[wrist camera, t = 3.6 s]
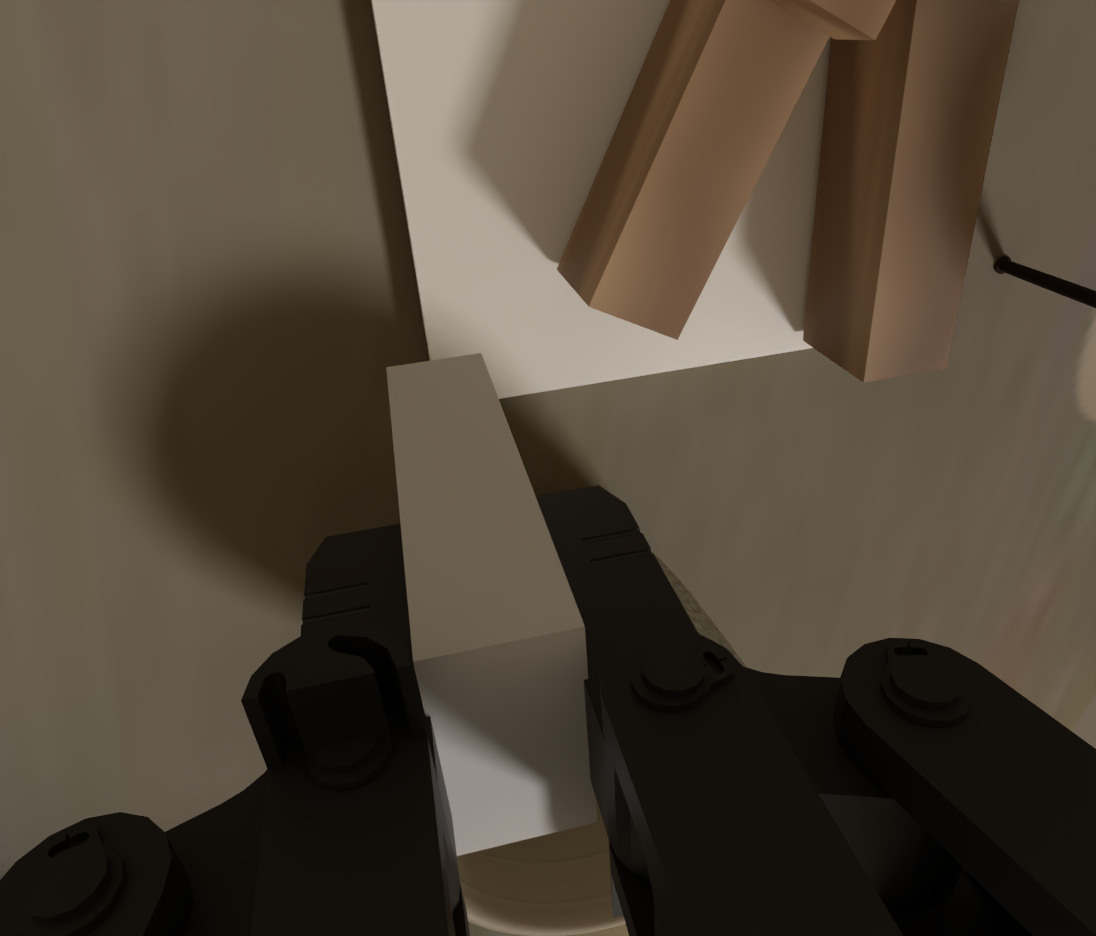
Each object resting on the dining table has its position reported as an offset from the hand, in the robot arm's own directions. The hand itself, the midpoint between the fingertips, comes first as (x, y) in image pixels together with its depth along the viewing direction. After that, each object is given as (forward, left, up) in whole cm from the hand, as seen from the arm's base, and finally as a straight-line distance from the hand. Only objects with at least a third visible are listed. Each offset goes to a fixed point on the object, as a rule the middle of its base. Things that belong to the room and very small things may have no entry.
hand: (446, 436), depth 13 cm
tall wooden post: (+15, +2, -15) cm, 21 cm away
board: (+9, +2, -15) cm, 17 cm away
